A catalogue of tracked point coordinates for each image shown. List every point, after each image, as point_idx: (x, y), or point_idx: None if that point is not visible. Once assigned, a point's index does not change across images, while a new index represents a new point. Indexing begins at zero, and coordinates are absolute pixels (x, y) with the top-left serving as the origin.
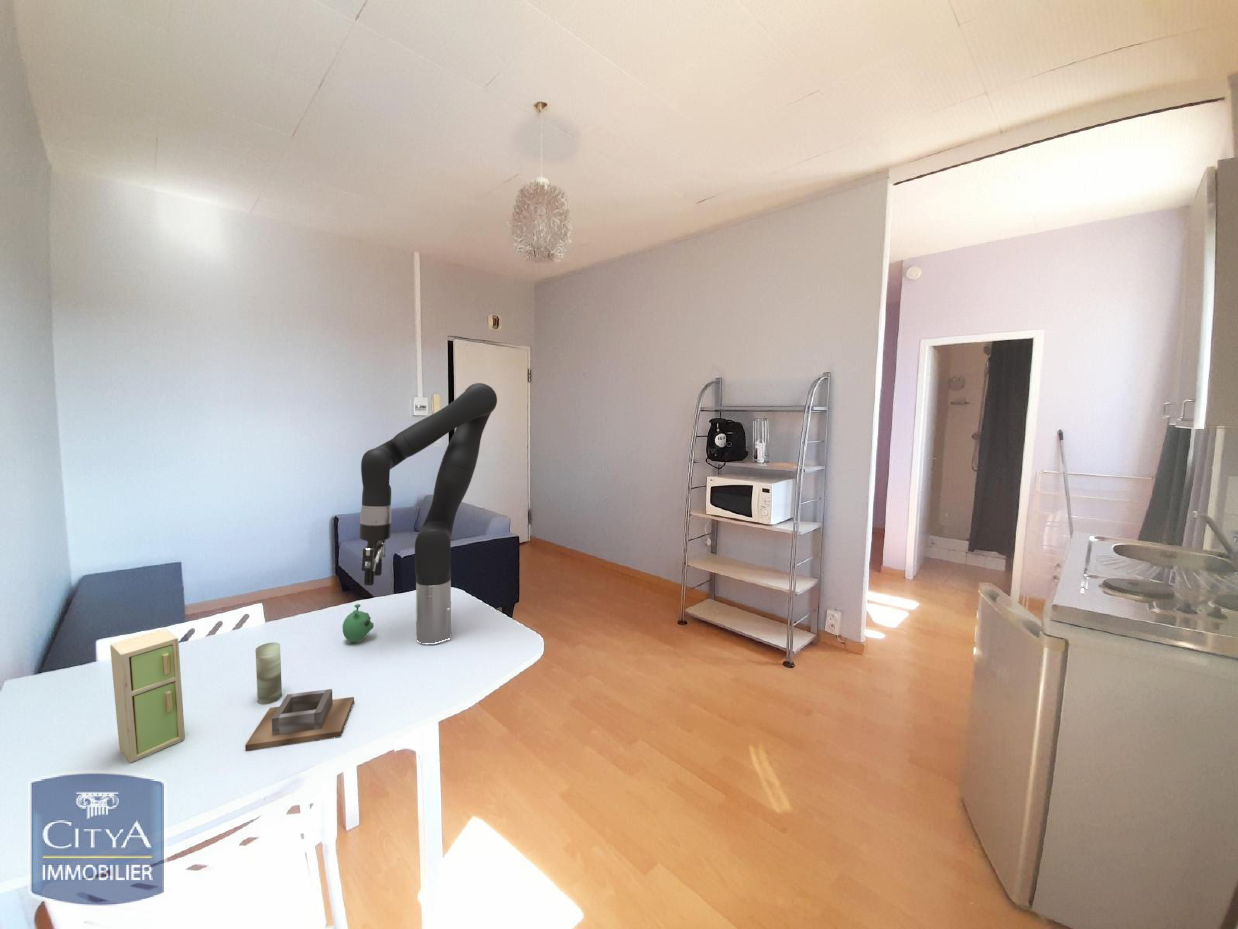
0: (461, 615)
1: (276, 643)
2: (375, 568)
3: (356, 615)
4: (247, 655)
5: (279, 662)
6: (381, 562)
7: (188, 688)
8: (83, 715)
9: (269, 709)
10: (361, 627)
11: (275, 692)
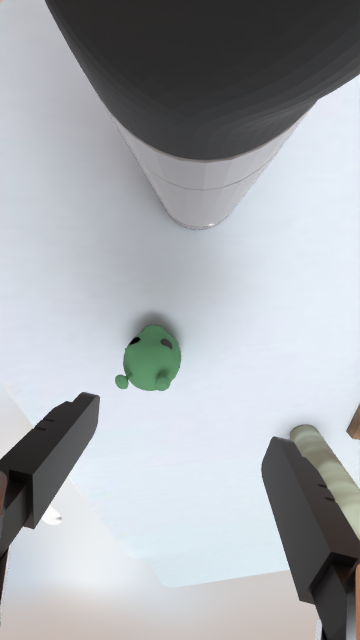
0: (72, 87)
1: (354, 526)
2: (69, 458)
3: (162, 376)
4: (159, 467)
5: (350, 483)
6: (25, 476)
7: (227, 501)
8: (243, 551)
9: (357, 438)
10: (177, 352)
11: (324, 440)
